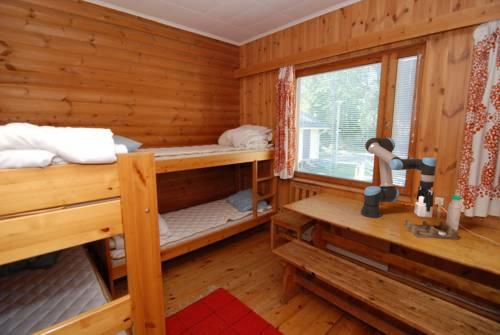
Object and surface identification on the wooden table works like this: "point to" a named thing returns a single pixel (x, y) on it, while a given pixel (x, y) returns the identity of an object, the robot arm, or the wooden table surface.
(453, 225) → the water bottle
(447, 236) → the rack
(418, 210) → the container
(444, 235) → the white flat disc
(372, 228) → the wooden table surface
